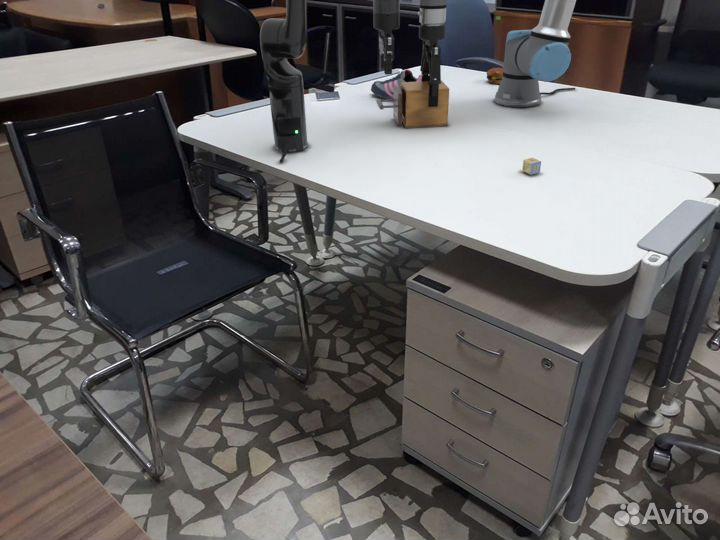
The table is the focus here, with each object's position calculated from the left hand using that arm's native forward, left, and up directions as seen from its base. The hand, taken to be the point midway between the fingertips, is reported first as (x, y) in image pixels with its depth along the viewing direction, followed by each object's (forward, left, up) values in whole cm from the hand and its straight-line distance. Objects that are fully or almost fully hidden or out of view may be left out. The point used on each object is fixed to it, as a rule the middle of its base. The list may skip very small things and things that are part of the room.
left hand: (386, 71), depth 169 cm
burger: (+43, -53, -16) cm, 70 cm away
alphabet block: (-48, -26, -16) cm, 57 cm away
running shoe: (+27, -11, -16) cm, 33 cm away
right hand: (-1, -13, -10) cm, 16 cm away
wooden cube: (-1, -12, -16) cm, 20 cm away
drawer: (-1, -6, -15) cm, 16 cm away
